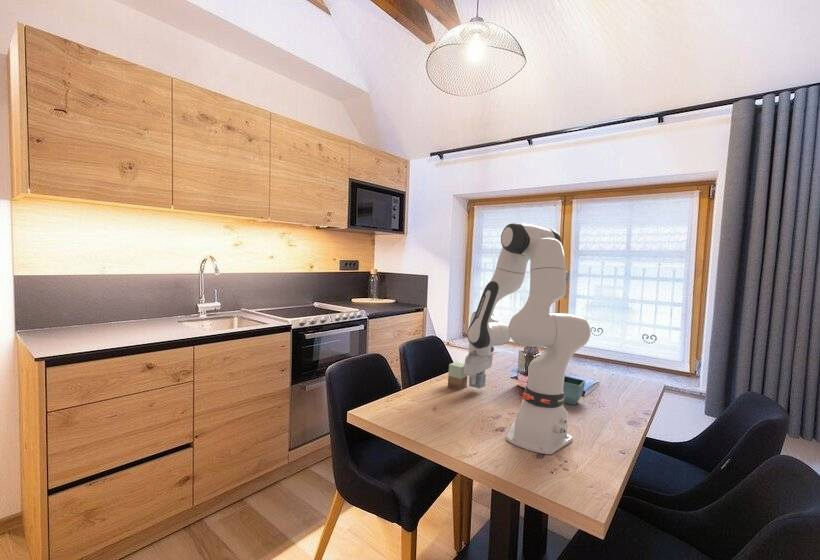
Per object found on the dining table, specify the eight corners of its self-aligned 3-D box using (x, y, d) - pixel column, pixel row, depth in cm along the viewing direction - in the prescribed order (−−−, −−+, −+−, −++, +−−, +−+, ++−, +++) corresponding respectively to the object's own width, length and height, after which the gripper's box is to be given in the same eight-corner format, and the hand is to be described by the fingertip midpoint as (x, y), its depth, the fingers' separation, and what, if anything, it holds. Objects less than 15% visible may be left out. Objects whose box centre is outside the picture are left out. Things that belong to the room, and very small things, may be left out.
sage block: (460, 379, 159) (461, 367, 159) (448, 375, 163) (449, 364, 162) (467, 375, 164) (468, 364, 164) (455, 372, 167) (455, 361, 167)
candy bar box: (542, 392, 162) (544, 354, 161) (532, 393, 160) (535, 355, 159) (524, 384, 172) (527, 348, 171) (515, 385, 170) (518, 349, 169)
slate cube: (480, 388, 154) (480, 376, 154) (468, 386, 157) (469, 374, 157) (485, 385, 158) (485, 374, 158) (474, 383, 161) (474, 371, 161)
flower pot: (578, 408, 146) (580, 385, 146) (555, 402, 151) (556, 380, 151) (583, 402, 153) (585, 380, 153) (561, 396, 158) (562, 375, 158)
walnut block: (460, 390, 159) (460, 379, 159) (447, 387, 163) (448, 375, 163) (466, 387, 164) (467, 375, 164) (454, 384, 168) (455, 372, 167)
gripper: (475, 354, 147) (473, 389, 147) (495, 346, 164) (494, 378, 164) (460, 351, 151) (458, 385, 151) (482, 344, 167) (480, 375, 168)
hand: (477, 382), depth 158 cm, fingers closed on slate cube, 5 cm apart
